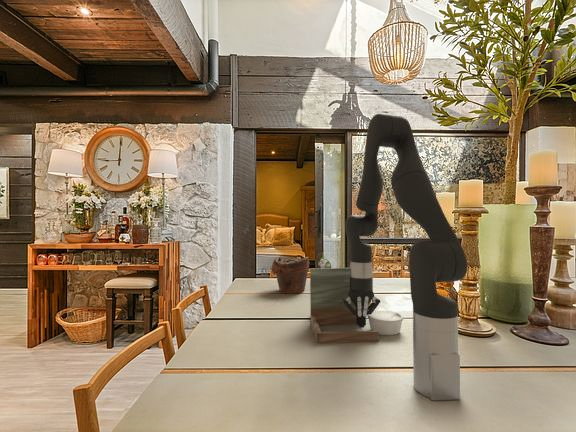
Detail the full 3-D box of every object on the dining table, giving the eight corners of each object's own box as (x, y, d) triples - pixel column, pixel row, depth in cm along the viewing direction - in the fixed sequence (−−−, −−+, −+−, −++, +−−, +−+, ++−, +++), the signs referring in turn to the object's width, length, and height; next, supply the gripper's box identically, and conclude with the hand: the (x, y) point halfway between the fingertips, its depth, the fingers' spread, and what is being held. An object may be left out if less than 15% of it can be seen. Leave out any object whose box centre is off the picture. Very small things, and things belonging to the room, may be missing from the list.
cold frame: (378, 341, 103) (378, 276, 103) (317, 343, 102) (316, 277, 102) (363, 323, 120) (362, 267, 120) (310, 324, 119) (310, 268, 119)
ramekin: (407, 336, 107) (407, 320, 106) (372, 337, 107) (372, 320, 107) (396, 325, 118) (396, 310, 118) (364, 325, 118) (364, 310, 118)
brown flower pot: (267, 288, 177) (267, 254, 177) (303, 285, 183) (303, 253, 183) (276, 296, 160) (276, 259, 160) (315, 293, 166) (315, 257, 166)
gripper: (344, 277, 107) (344, 331, 107) (384, 277, 108) (384, 330, 108) (339, 273, 115) (339, 323, 115) (376, 272, 116) (376, 322, 116)
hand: (361, 326), depth 112 cm, fingers closed
